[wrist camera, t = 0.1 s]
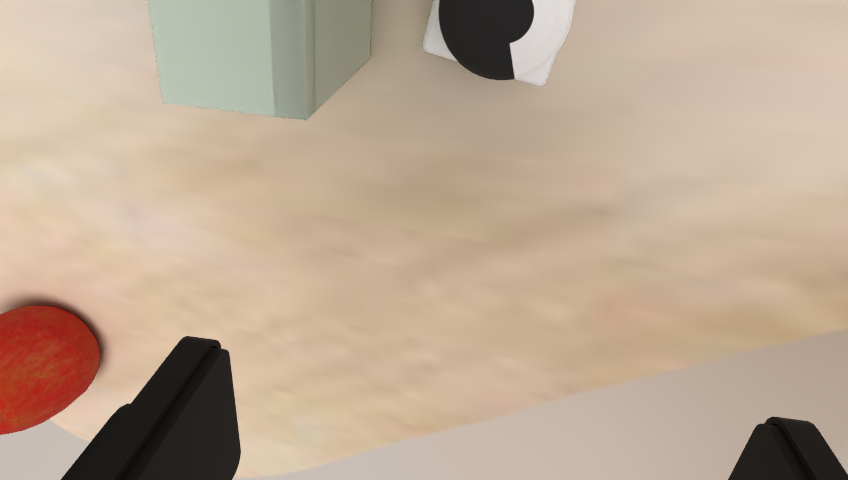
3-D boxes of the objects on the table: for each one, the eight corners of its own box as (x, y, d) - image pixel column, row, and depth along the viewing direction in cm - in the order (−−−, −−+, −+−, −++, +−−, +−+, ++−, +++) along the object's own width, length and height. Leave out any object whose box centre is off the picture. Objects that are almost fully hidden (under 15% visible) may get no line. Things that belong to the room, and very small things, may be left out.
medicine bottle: (432, 32, 37) (407, 70, 26) (464, -91, 33) (450, -103, 23) (536, 63, 37) (552, 114, 26) (579, -55, 33) (617, -51, 23)
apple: (-13, 305, 53) (-120, 383, 44) (71, 280, 50) (-24, 357, 41) (53, 385, 57) (-31, 470, 48) (134, 366, 54) (61, 452, 45)
